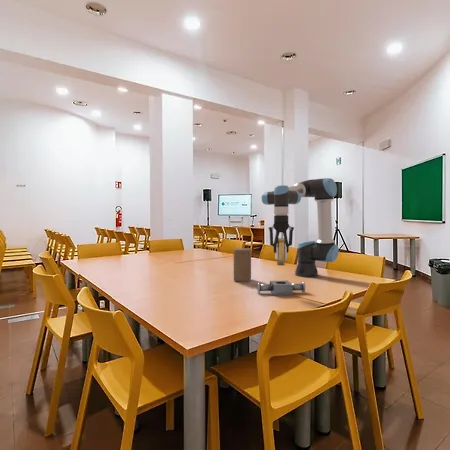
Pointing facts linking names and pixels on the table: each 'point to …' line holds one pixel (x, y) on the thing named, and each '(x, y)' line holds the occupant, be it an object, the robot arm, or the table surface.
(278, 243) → the valve handle
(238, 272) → the wooden block
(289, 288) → the valve body
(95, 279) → the table surface
